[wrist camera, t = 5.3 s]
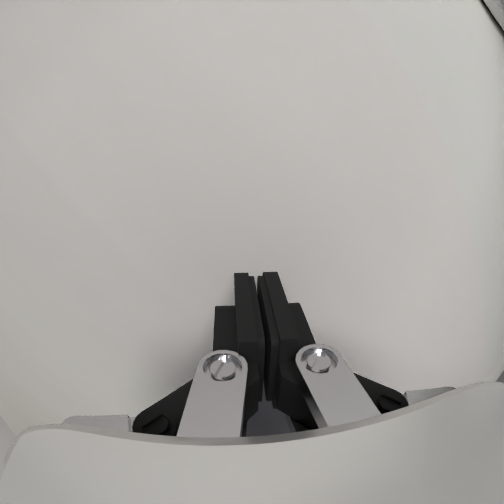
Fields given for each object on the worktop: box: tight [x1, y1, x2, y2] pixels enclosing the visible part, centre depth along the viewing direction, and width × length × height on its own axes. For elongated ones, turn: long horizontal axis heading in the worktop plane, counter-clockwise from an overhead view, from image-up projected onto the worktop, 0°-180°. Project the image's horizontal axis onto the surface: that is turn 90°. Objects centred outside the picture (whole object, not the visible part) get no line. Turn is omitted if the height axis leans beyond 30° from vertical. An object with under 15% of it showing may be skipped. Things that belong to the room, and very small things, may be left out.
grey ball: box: [247, 382, 291, 437], centre depth 12 cm, size 6×6×6 cm
